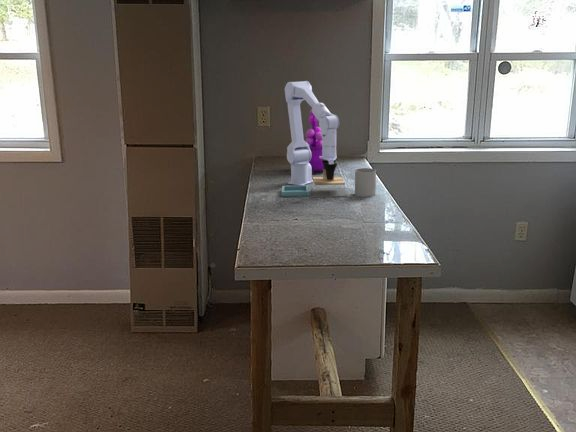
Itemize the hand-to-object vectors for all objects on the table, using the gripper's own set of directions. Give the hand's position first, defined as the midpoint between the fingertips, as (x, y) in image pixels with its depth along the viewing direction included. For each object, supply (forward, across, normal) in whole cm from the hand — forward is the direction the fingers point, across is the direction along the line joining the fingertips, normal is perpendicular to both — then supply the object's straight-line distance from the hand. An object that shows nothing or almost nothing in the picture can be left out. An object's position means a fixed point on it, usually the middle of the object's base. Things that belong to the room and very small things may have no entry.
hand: (329, 178), depth 252 cm
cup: (+6, +4, +14) cm, 16 cm away
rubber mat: (+6, 0, 0) cm, 6 cm away
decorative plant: (+6, -46, -2) cm, 47 cm away
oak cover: (+1, 0, 0) cm, 1 cm away
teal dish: (+6, -1, -14) cm, 15 cm away
